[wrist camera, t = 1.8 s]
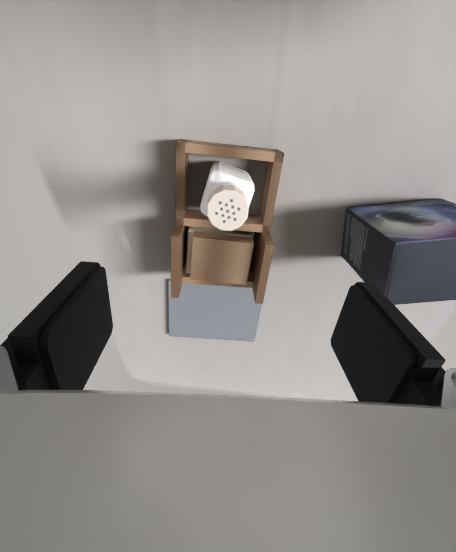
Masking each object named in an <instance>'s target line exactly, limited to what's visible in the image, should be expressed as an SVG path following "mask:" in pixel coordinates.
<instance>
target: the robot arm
mask: <svg viewBox="0 0 456 552" xmlns="http://www.w3.org/2000/svg"><path fill="white" fill-rule="evenodd" d="M112 329H113V323H112V316H111V308H110V301H109V293H108V286H107V278H106V271H105V268H104V267H101V266H100V264H99V263H96V262H82V261H81V262H80V263H79V264H78V265H77V266H76V267H75V268H74V269H73V270H72V271H71V272H70V273H69V274H68V275H67V276H66V277H65V278H64V279H63V280H62V281H61V282H60V283H59V284H58V285H57V286H56V287H55V288H54V289H53V290H52V291H51V292H50V293H49V294H48V295H47V296H46V297H45V298H44V299H43V301H41V303H39V304H38V306H37V307H36V308H35V309H34V310H33V311H32V312H31V313H30V314H29V315H28V316H27V317H26V318H25V319H24V320H23V321H22V322H21V323H20V324H19V325H18V326H17V327H16V328H15V329H14V330H13V331H12V332H11V333H10V334H9V335H8V338H7V339H6V340H5V341H4V342H3V343H2V344H1V345H0V552H456V368H451V369H449V370H447V371H446V372H445V371H444V369H442V367H441V366H442V365H443V363H444V362H445V359H444V358H443V357H442V356H441V355H440V353H439V352H438V351H437V350H436V349H435V348H434V347H433V346H432V345H431V344H430V343H429V342H428V341H427V340H426V339H425V338H424V336H423V335H422V334H421V333H420V332H419V331H418V330H417V329H416V328H415V327H414V326H413V325H412V324H411V323H410V322H409V320H408V319H407V318H406V317H405V316H404V315H403V314H402V313H401V312H400V311H399V310H398V309H397V308H396V307H395V306H394V305H393V303H392V302H391V301H390V300H389V299H388V298H387V297H386V296H385V295H384V294H383V293H382V292H381V291H380V290H379V289H378V287H377V286H376V285H375V284H373V283H364V282H357V283H356V284H355V285H352V286H351V287H350V289H349V291H348V294H347V297H346V299H345V302H344V305H343V307H342V310H341V313H340V316H339V318H338V321H337V324H336V326H335V329H334V332H333V335H332V337H331V346H332V348H333V350H334V352H335V354H336V356H337V358H338V360H339V362H340V364H341V366H342V368H343V370H344V372H345V375H346V377H347V379H348V381H349V383H350V385H351V387H352V389H353V391H354V393H355V395H356V397H357V399H358V401H339V400H318V399H298V398H275V397H253V396H229V395H206V394H179V393H153V392H125V391H95V390H83V388H84V386H85V384H86V383H87V380H88V379H89V377H90V375H91V373H92V371H93V369H94V366H95V365H96V363H97V361H98V359H99V357H100V355H101V353H102V351H103V349H104V347H105V345H106V343H107V341H108V339H109V337H110V335H111V333H112Z"/></svg>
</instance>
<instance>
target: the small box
mask: <svg viewBox="0 0 456 552" xmlns="http://www.w3.org/2000/svg"><path fill="white" fill-rule="evenodd" d="M341 256H342V257H343V258H344V259H345V260H346V261H347V262H348V263H349V265H350V266H351V267H352V268H353V269H354V270H355V272H356V273H357V274H358V275H359V276H360V277H361V278H362V279H363V281H364V282H365V283H373V284H375V285H376V286H377V287H378V289H379V290H380V291H381V292H382V293H383V294H384V295H385V296H386V297H387V298H388V299H389V300H390V301H391V302H392V303H393V305H396V304H409V303H421V302H433V301H446V300H456V204H454V203H452V202H449V201H446V200H443V199H433V200H422V201H411V202H401V203H389V204H379V205H368V206H358V207H348V208H347V210H346V217H345V225H344V232H343V241H342V250H341Z"/></svg>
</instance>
